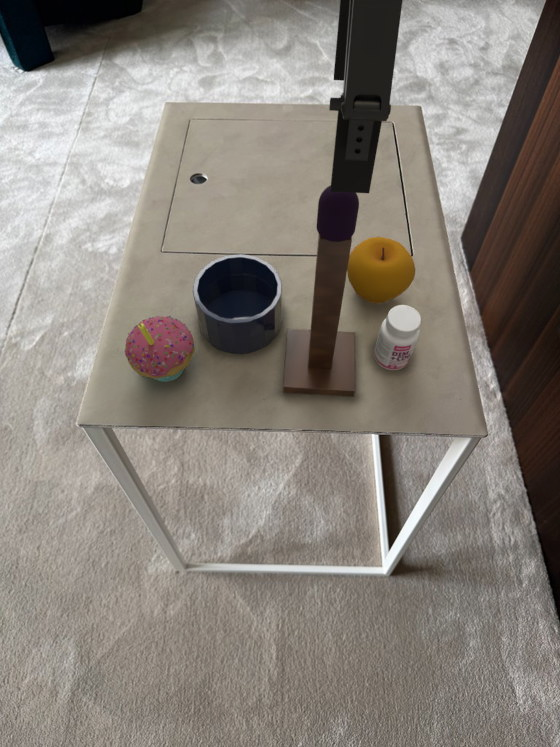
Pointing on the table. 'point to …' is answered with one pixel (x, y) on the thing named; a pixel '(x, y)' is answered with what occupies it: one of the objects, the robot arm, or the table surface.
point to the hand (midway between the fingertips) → (349, 129)
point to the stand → (323, 332)
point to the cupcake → (160, 348)
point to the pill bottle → (397, 337)
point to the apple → (380, 269)
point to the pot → (238, 303)
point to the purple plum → (337, 215)
